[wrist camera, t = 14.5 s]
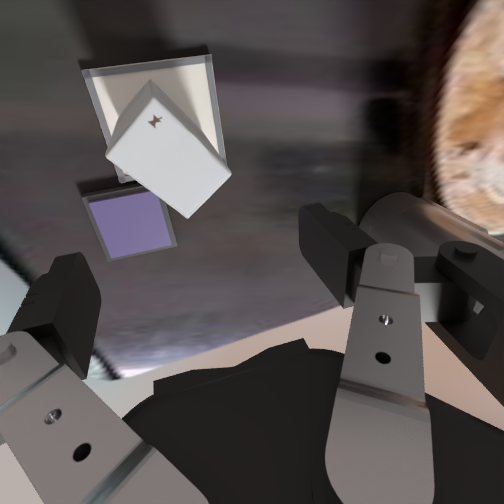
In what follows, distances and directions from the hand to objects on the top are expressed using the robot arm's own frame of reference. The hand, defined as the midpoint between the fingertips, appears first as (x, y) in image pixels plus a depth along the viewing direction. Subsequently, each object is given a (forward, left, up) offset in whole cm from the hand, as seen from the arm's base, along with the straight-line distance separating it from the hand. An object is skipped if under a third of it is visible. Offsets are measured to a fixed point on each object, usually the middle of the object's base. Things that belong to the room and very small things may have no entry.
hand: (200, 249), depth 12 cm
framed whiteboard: (0, -1, -20) cm, 20 cm away
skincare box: (0, -1, -20) cm, 20 cm away
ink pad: (+5, +7, -20) cm, 22 cm away
